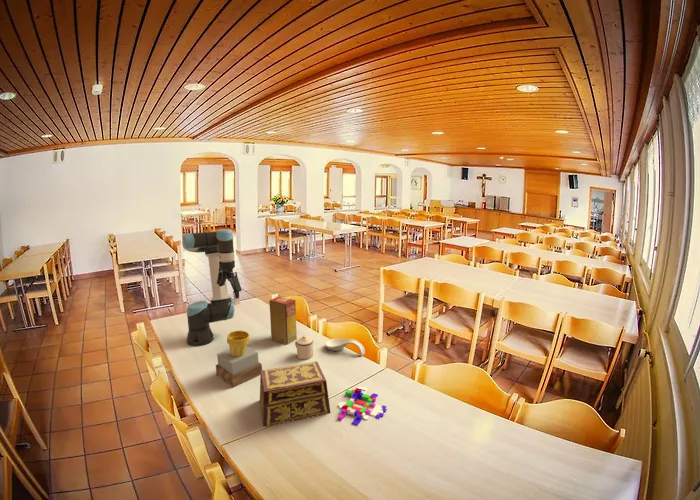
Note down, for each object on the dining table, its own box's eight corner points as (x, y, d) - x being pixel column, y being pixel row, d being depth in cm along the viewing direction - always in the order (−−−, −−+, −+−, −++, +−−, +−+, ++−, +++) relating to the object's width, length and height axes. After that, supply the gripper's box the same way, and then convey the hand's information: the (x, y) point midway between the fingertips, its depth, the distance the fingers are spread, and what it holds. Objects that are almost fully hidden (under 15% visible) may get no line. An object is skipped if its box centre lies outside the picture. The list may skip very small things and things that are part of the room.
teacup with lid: (317, 355, 203) (316, 335, 200) (304, 361, 196) (303, 341, 194) (302, 348, 210) (301, 329, 208) (289, 354, 204) (288, 335, 201)
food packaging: (297, 338, 223) (296, 299, 218) (287, 344, 216) (285, 304, 210) (281, 333, 230) (279, 295, 225) (270, 339, 223) (268, 300, 217)
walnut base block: (216, 376, 184) (215, 365, 183) (245, 364, 195) (244, 353, 194) (233, 388, 173) (232, 376, 172) (262, 374, 185) (261, 363, 183)
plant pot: (253, 351, 184) (253, 333, 182) (239, 361, 175) (240, 342, 172) (236, 345, 188) (236, 328, 185) (222, 354, 178) (222, 336, 176)
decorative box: (263, 427, 146) (260, 393, 143) (259, 400, 163) (257, 369, 160) (330, 413, 154) (329, 380, 151) (320, 389, 172) (319, 359, 169)
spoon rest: (321, 350, 209) (321, 339, 207) (331, 342, 219) (331, 331, 217) (359, 360, 198) (359, 347, 196) (368, 350, 208) (368, 338, 207)
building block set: (374, 432, 143) (374, 422, 142) (327, 417, 152) (327, 408, 151) (395, 397, 165) (395, 388, 164) (353, 386, 174) (353, 377, 173)
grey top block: (218, 364, 183) (217, 353, 182) (243, 354, 193) (242, 344, 192) (233, 375, 174) (232, 363, 172) (258, 363, 184) (257, 352, 182)
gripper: (207, 258, 189) (211, 297, 194) (232, 266, 173) (236, 309, 177) (221, 255, 195) (224, 293, 199) (246, 263, 178) (249, 304, 182)
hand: (229, 301), depth 188 cm, fingers open, 13 cm apart
